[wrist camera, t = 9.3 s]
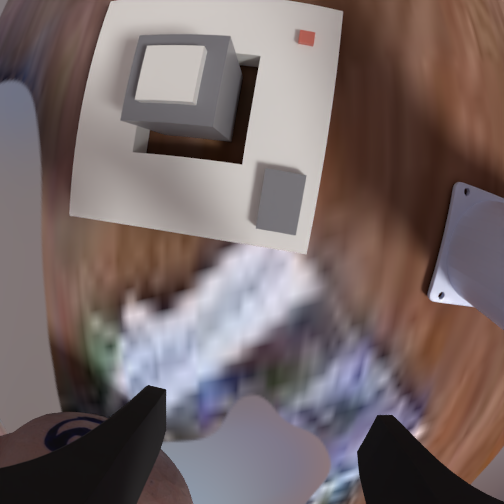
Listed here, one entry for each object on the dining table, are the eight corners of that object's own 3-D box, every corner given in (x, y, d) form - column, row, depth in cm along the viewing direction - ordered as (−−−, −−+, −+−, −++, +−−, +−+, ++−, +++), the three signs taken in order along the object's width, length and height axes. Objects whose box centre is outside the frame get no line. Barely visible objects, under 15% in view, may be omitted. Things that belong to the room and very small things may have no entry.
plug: (242, 77, 16) (228, 29, 10) (231, 142, 17) (209, 124, 11) (177, 72, 16) (134, 30, 10) (165, 134, 17) (113, 118, 11)
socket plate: (336, 25, 15) (345, 6, 12) (302, 245, 18) (307, 257, 16) (123, 13, 15) (106, -3, 12) (86, 211, 18) (63, 217, 16)
